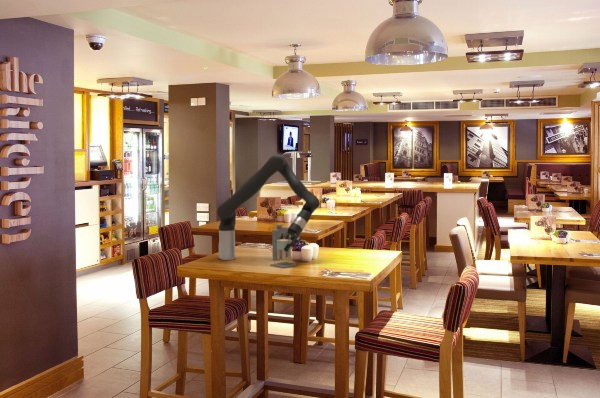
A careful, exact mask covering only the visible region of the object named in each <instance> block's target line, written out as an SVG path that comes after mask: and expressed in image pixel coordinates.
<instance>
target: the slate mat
mask: <svg viewBox="0 0 600 398" xmlns="http://www.w3.org/2000/svg"><path fill="white" fill-rule="evenodd" d="M269 265H270V266H271V267H273V268H274V267H275V268H279V269H280V268H281V269H287V268H294V267H298V266H299V264H298V263H295V262H294V263H293V262H288V261H281V262H276V263H270V264H269Z"/></svg>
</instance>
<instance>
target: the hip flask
mask: <svg viewBox="0 0 600 398" xmlns="http://www.w3.org/2000/svg"><path fill="white" fill-rule="evenodd" d="M275 226H276V228H275V229H272V230H271V232H272V234H271V236H272V237H271V240H272V241H271V242H272V244H271V245H272V247H271V248H272V250H271V251H272V261H278V260H280V259H283V257H282V250H280V259H277V240H279V238H280V236H281V234H282V233H283V234H286V233H287V232H288V228H289V226H284V227H283V224H276V225H275ZM286 258H289V255H288V251H287V252H286Z"/></svg>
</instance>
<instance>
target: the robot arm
mask: <svg viewBox="0 0 600 398" xmlns="http://www.w3.org/2000/svg"><path fill="white" fill-rule="evenodd" d="M277 172H278V173H279V174H280V175H281V176H282V177H283V178H284V179H285V180H286V182H287V184H288V186H289V188H291V190H292V192H293V193H294V194H295V195H296V197H298V198H299V199H300V200H303V201H304V202H305V203H304V204H303V206H302V208H301V210H300V211H299V212H298V213H297V215H296V216H295V218H294V219H293V220H292V222H291V223H290V225H289V226H288V232H287V233H286V234H283V233H282V234H281V236H280V238H279V240H281V239H288V240H289V242H288V244H287V245H286V247H285V248H284V250H285V251H286V252H287V251H288V250H289V248H290V247H291V248H292V247H295V245H297V244H298V243H299V241H300V239H301V238H300V235H301V234H302V232H303V230H305V228H306V226H307V225H308V222H309V221H310V219H311V217H312V215H313V214H314V212H315V211H316V210H317V209H318V208H319V207H320V204H321V203H320V200H319V198H318V197H317V196H316V195H315V194H314V193H312V192H311V191H310V190H309V189H308V188H307V187H306V186H305V185H304V183H303V182H302V181H301V180H300V179H299V178H298V176H297V175H296V174H295V173H294V171H293V170H292V168H291V167H290V164H289V163H288V162H287V160H286V158H285V156H284V155H282V154H273V155H272V156H270V157H269V158H268V160H266V162H265V163H264V165H263V166H262V167H261V168H260V169H258V170H257V171H256V172H254V173H253V174H252V175H251V176H250V177H249V178H248V179H247V180H246V181H245V182H243V183H242V184H241V186H239V187H238V188H237V190H236V191H235V192H234V193H233V195H231V196H230V197H229V198H228V199H226V200H225V201H223V203H221V204H220V205H219V206H218V207H217V211H216V214H217V216H218V217H219V219H220V220H219V221H220V222H219V225H218V238H219V239H218V241H219V242H218V259H219V260H223V261H230V260H235V259H236V234H235V233H236V231H235V229H236V222H237V221H236V211H237V209H238V208H239V207H241V205H243V204H244V203H246V202H247V201H249V200H250V199H252V198H253V197H254V196H255V195H256V194H257V193H258V192H260V191H261V190H262V188H263V187H264V185H265V184H266V183H267V181H268V180H269V179H270V178H271V177H273V175H275V174H276V173H277ZM290 242H291V243H290Z"/></svg>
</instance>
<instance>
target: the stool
mask: <svg viewBox="0 0 600 398" xmlns="http://www.w3.org/2000/svg"><path fill="white" fill-rule="evenodd" d="M288 242H289V240H288V239H281V240H277V259H279V260H280V250H282V257H283V258H282V261H286V258H287V257H286V251H285V250H284V248H285V247H286V245H287V244H288ZM290 243H291V242H290ZM288 255H289V256H288V260H291V259H292V246H291V247H290V248H289V250H288Z"/></svg>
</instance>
